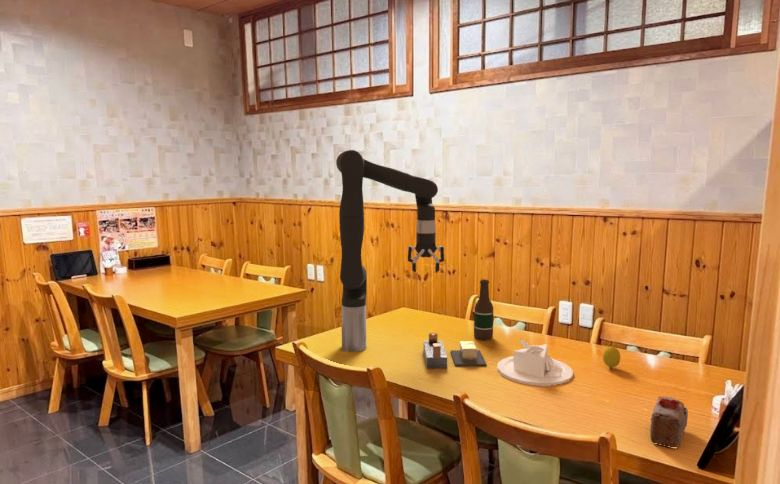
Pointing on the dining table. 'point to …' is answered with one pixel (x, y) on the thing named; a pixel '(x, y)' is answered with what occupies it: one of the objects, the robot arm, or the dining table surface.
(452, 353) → the rubber mat
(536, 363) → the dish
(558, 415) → the dining table surface
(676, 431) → the food item
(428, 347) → the hand plane
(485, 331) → the beer bottle
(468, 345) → the cream block
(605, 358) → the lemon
